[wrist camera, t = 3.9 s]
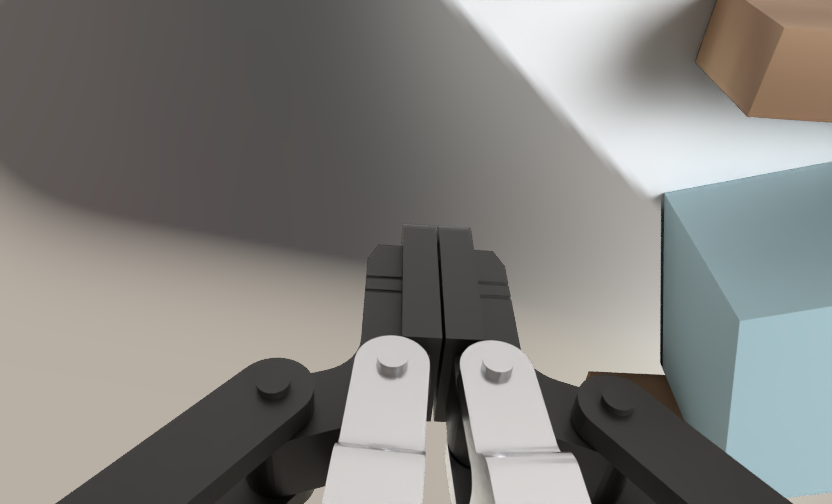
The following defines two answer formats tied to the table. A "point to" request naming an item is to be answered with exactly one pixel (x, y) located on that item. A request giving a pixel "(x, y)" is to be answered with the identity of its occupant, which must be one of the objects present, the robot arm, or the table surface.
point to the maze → (763, 81)
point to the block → (753, 321)
